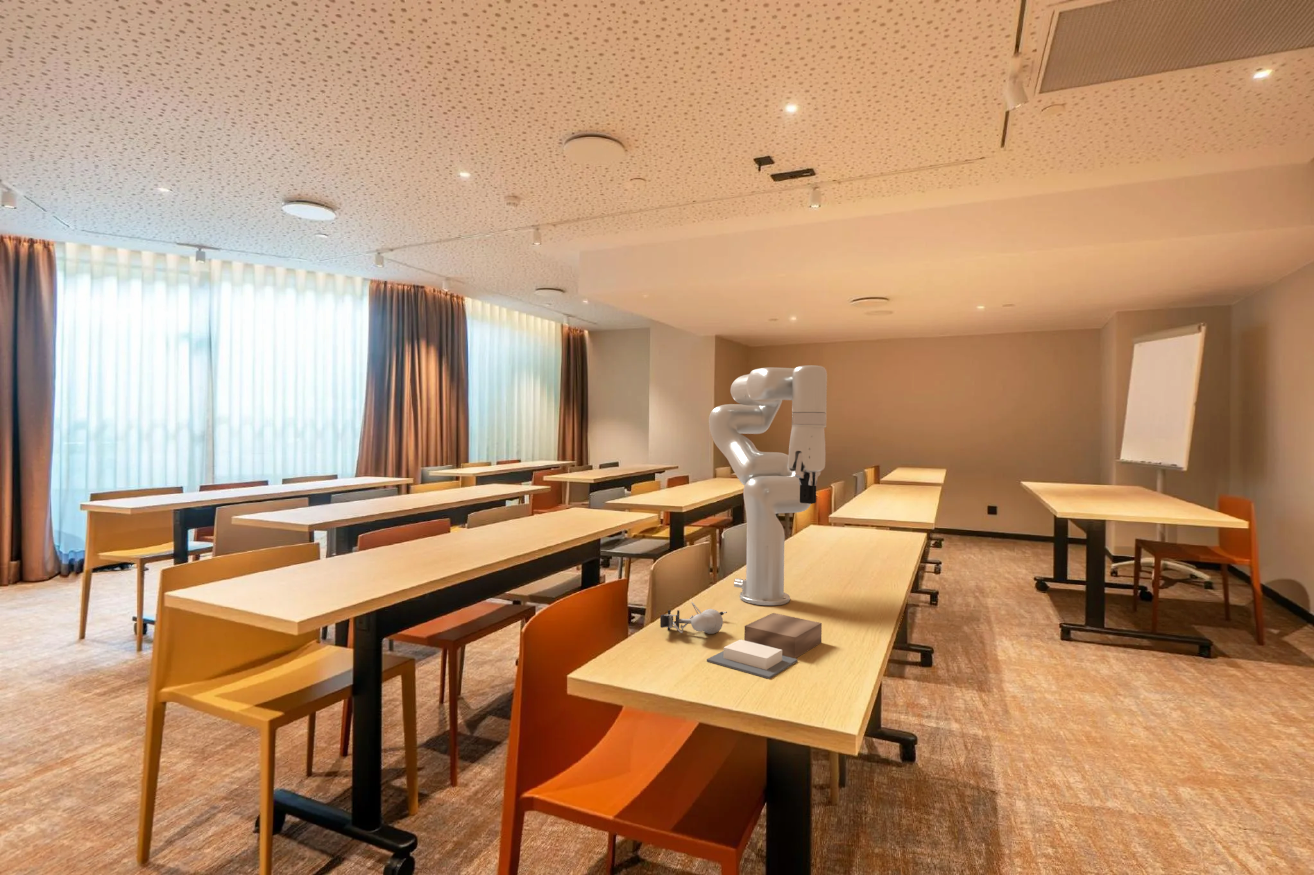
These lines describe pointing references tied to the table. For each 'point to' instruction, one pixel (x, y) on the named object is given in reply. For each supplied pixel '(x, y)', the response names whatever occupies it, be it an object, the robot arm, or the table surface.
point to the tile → (753, 654)
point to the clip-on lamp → (695, 621)
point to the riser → (785, 634)
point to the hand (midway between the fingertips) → (807, 502)
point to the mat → (751, 669)
